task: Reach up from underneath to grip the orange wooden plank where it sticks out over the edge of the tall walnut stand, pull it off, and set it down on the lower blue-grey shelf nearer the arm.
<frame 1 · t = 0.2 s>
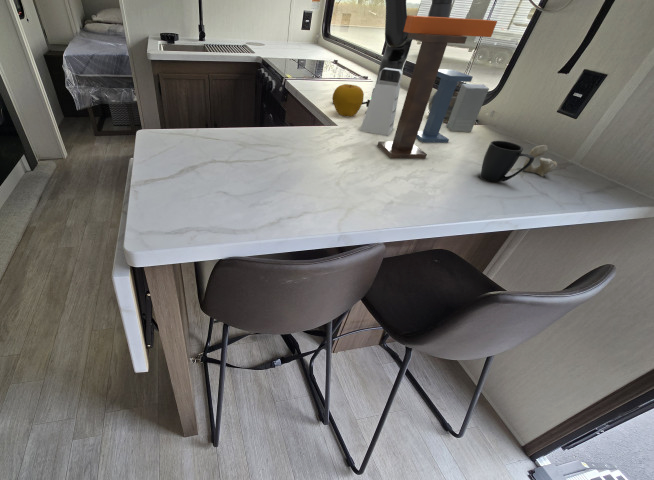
hand: (424, 72, 135), 17 cm above the kitchen counter, tool pointing down, fingers open, 8 cm apart
grater: (376, 130, 134), on the kitchen counter
mug: (495, 181, 101), on the kitchen counter
tall stand: (400, 152, 115), on the kitchen counter
bowl: (441, 119, 151), on the kitchen counter
orange wooden plank: (447, 34, 95), point 32 cm above the kitchen counter, touching tall stand
cosmetic box: (457, 130, 139), on the kitchen counter
apple: (344, 115, 147), on the kitchen counter
lower shelf: (428, 138, 129), on the kitchen counter
bone: (536, 173, 107), on the kitchen counter
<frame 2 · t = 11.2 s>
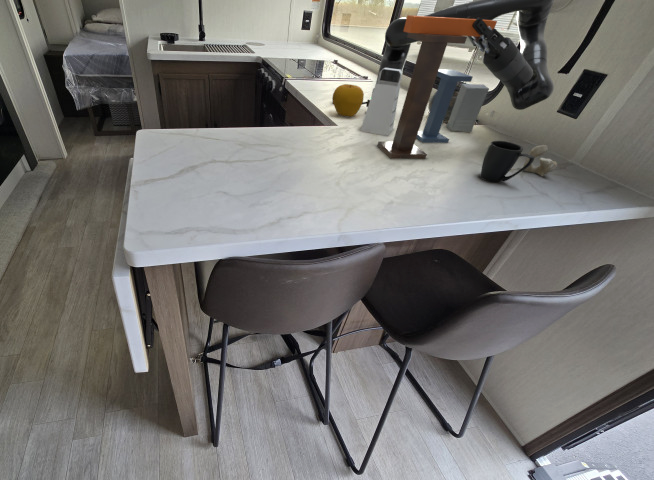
hand: (471, 20, 93), 35 cm above the kitchen counter, tool pointing upward, fingers closed on orange wooden plank, 4 cm apart
orange wooden plank: (447, 34, 95), point 32 cm above the kitchen counter, touching gripper, tall stand
everything else where it was.
when the fingers open (24 cm above the kitchen counter, at t = 20.5 s): orange wooden plank stays where it is, resting on lower shelf.
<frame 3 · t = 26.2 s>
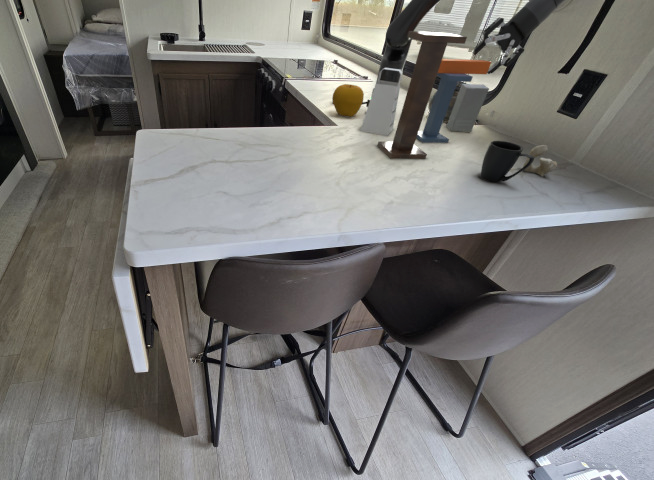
hand: (480, 63, 116), 24 cm above the kitchen counter, tool tilted 35°, fingers open, 8 cm apart
orange wooden plank: (451, 72, 115), point 21 cm above the kitchen counter, touching lower shelf
everything else where it was.
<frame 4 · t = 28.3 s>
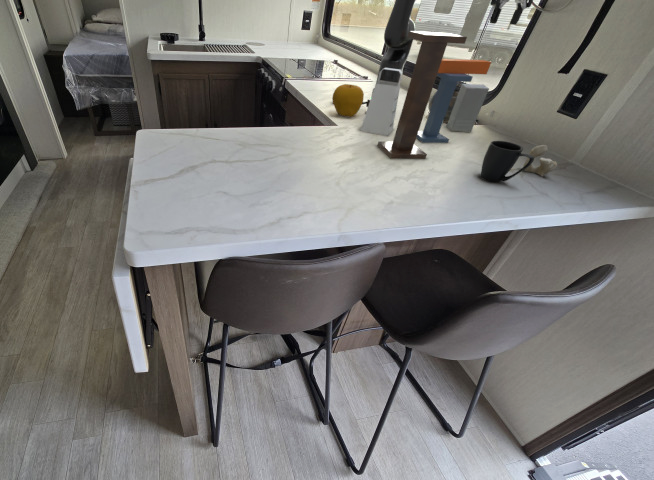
hand: (502, 23, 113), 34 cm above the kitchen counter, tool pointing down, fingers open, 8 cm apart
nothing on the kitchen counter moved.
at the end: orange wooden plank inside the target area on the lower shelf (0.3 cm from its centre), point 21.0 cm above the lower shelf's base; the gripper is holding nothing; orange wooden plank moved 24.0 cm from its start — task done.
